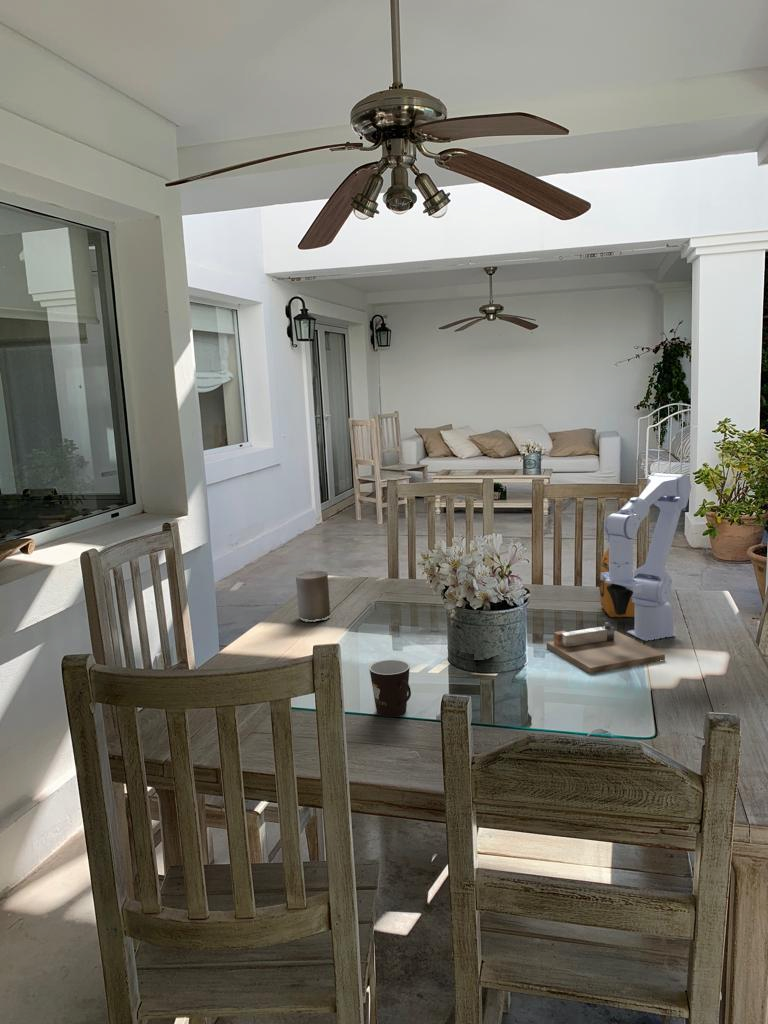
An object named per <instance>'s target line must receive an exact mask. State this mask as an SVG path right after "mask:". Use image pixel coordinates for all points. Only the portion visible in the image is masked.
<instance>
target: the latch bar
mask: <svg viewBox="0 0 768 1024" xmlns="http://www.w3.org/2000/svg"><path fill="white" fill-rule="evenodd" d="M614 631H615V626H614V625H611V622H609V621H605V622H604V625H602V626H597V627H590V628H585V629H579V630H571V631H566V632H564V633H561V645H563V646H565V647H570V646H576V645H583V644H589V643H595V642H601V641H611V640H614Z"/></svg>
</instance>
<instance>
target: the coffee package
mask: <svg viewBox="0 0 768 1024" xmlns="http://www.w3.org/2000/svg"><path fill="white" fill-rule="evenodd" d="M603 572H609V547H608V548H607V549H606V550H605V553H604V554H603V556H602V558H601V560H600V572H599V586H598V587H599V591H598V592H599V598H600V606H601V607H602V609H603V610H604V611H605V613H606V614H607V616H609V617H610V618H635V603H634V602H632V599H631V598H630V600H629V603H628V606H627V610H626V613H625V614H623V615H617V614H616V613H615V609H614V605H613V602H612V599H611V596H610V594H609V592H608V590H607V586H611V585H612V584H609V583H606V582H605V581H603V580H601V573H603Z"/></svg>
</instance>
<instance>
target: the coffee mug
mask: <svg viewBox="0 0 768 1024" xmlns="http://www.w3.org/2000/svg"><path fill="white" fill-rule="evenodd" d="M410 667H411V666H410V664H409V663H408V662H407V661H403V660H399V659H385V660H380V661H379V660H378V661H375V662H374V663H372V664H371V665H370V666H369V667H368V669H369V674H370V680H371V686H372V692H373V697H374V704H375V711H376V714H377V715H378V716H380V717H383V718H389V719H391V718H398V717H401V716H403V715H405V714H406V712H407V707H408V706H407V705H408V704H407V703H408V701H409V700H410V698H411V695H412V691H411V687H410V684H409V680H410V679H409V678H410V670H411V669H410Z"/></svg>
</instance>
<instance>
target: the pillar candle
mask: <svg viewBox="0 0 768 1024" xmlns="http://www.w3.org/2000/svg"><path fill="white" fill-rule="evenodd" d="M328 575H329V574H328V572H326V571H323V570H308V571H302V572H299V573H297V574H296V575H295V582H296V583H295V584H296V594H297V595H296V597H297V607H298V609H297V611H298V618H299V617H301V618H303V619H308V620H315V619H322V618H325V617H327V616H329V615H331V605H330V604H331V603H330V602H331V601H330V591H329V589H330V588H329V578H328V577H329V576H328Z"/></svg>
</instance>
